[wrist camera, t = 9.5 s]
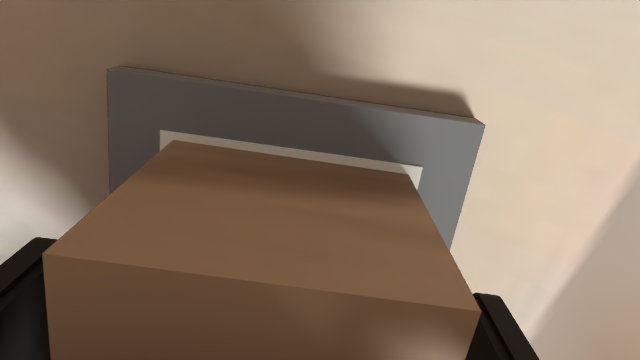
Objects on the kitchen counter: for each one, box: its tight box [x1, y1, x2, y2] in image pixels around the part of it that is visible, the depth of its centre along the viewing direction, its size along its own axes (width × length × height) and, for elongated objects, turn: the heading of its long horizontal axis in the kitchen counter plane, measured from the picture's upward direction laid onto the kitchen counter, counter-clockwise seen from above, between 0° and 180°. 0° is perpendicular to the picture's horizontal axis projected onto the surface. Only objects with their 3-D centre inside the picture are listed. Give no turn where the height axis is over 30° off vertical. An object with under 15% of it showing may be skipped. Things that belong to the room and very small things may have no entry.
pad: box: [107, 66, 485, 251], centre depth 14 cm, size 10×10×1 cm
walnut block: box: [42, 140, 482, 360], centre depth 10 cm, size 6×6×6 cm
